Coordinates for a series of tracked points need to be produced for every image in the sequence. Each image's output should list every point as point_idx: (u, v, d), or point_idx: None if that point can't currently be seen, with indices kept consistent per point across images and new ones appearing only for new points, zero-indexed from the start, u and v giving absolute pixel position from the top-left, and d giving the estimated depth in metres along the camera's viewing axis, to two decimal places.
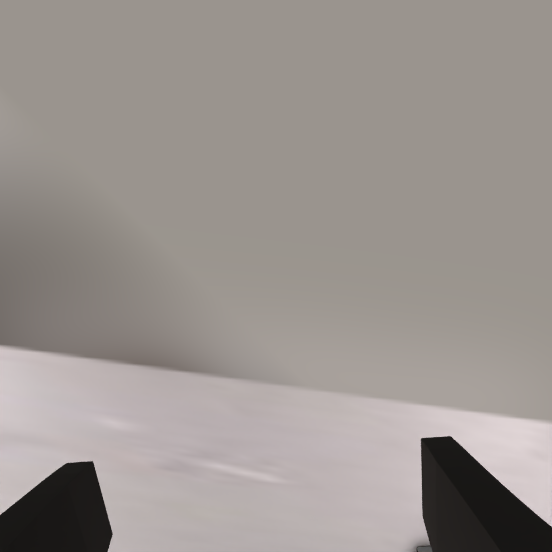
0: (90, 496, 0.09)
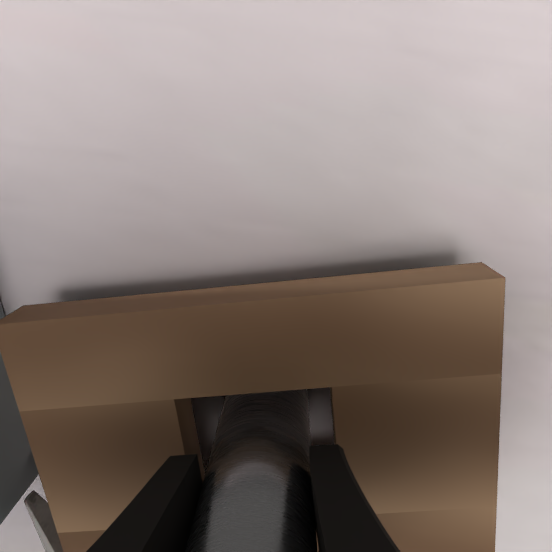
0: (197, 489, 0.09)
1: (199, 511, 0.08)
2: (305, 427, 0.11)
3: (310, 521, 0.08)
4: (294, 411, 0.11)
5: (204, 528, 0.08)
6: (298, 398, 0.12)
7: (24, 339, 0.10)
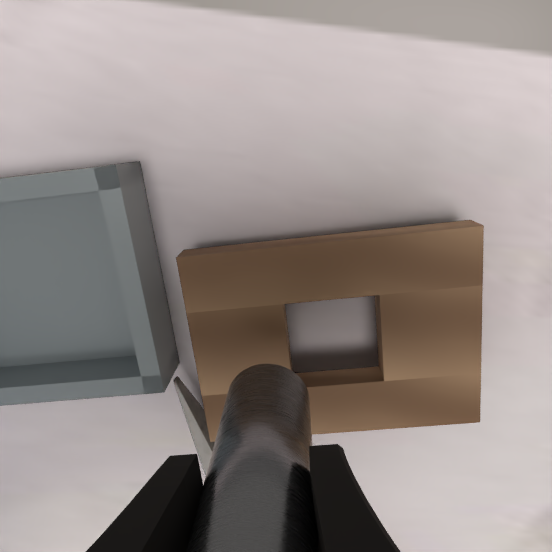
0: (197, 489, 0.09)
1: (200, 511, 0.08)
2: (306, 427, 0.11)
3: (311, 521, 0.08)
4: (295, 411, 0.11)
5: (205, 528, 0.08)
6: (299, 398, 0.12)
7: (194, 266, 0.17)
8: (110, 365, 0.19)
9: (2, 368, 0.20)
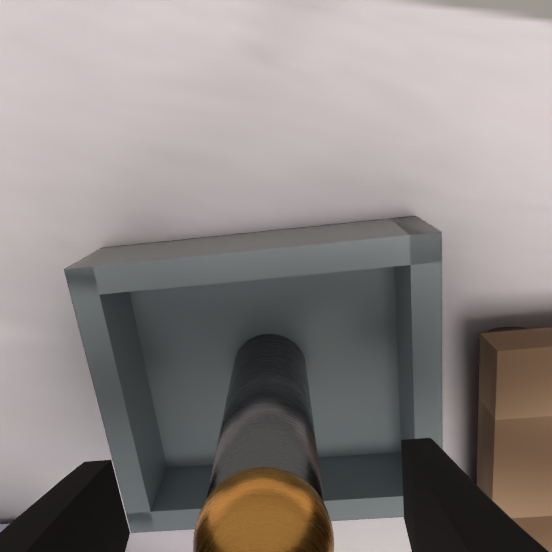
0: (109, 495, 0.09)
1: (221, 441, 0.10)
2: (304, 382, 0.13)
3: (312, 445, 0.10)
4: (295, 369, 0.13)
5: (227, 449, 0.09)
6: (297, 360, 0.14)
7: (521, 362, 0.12)
8: (353, 471, 0.15)
9: (203, 469, 0.16)
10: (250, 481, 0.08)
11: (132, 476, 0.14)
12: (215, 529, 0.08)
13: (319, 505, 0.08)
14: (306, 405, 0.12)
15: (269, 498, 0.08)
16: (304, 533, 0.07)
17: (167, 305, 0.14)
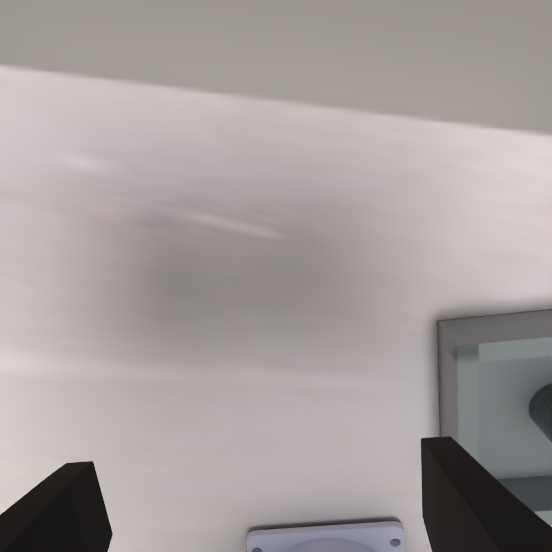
0: (90, 496, 0.09)
1: None
2: None
3: None
4: None
5: None
6: None
7: None
8: None
9: None
10: None
11: None
12: None
13: None
14: None
15: None
16: None
17: (487, 363, 0.20)
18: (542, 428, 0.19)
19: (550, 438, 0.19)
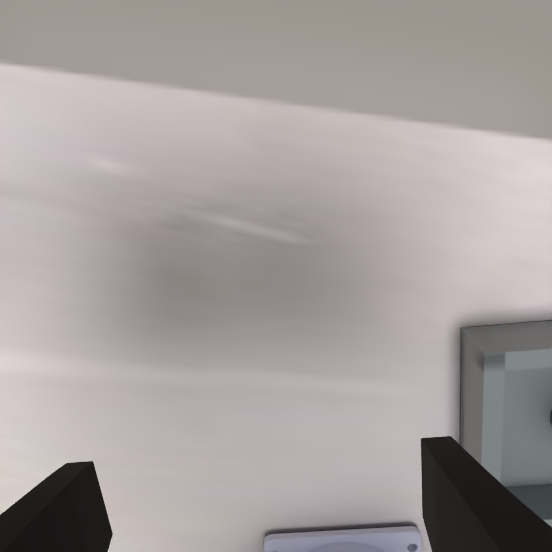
0: (90, 496, 0.09)
1: None
2: None
3: None
4: None
5: None
6: None
7: None
8: None
9: (511, 489, 0.21)
10: None
11: None
12: None
13: None
14: None
15: None
16: None
17: (510, 370, 0.20)
18: None
19: None
